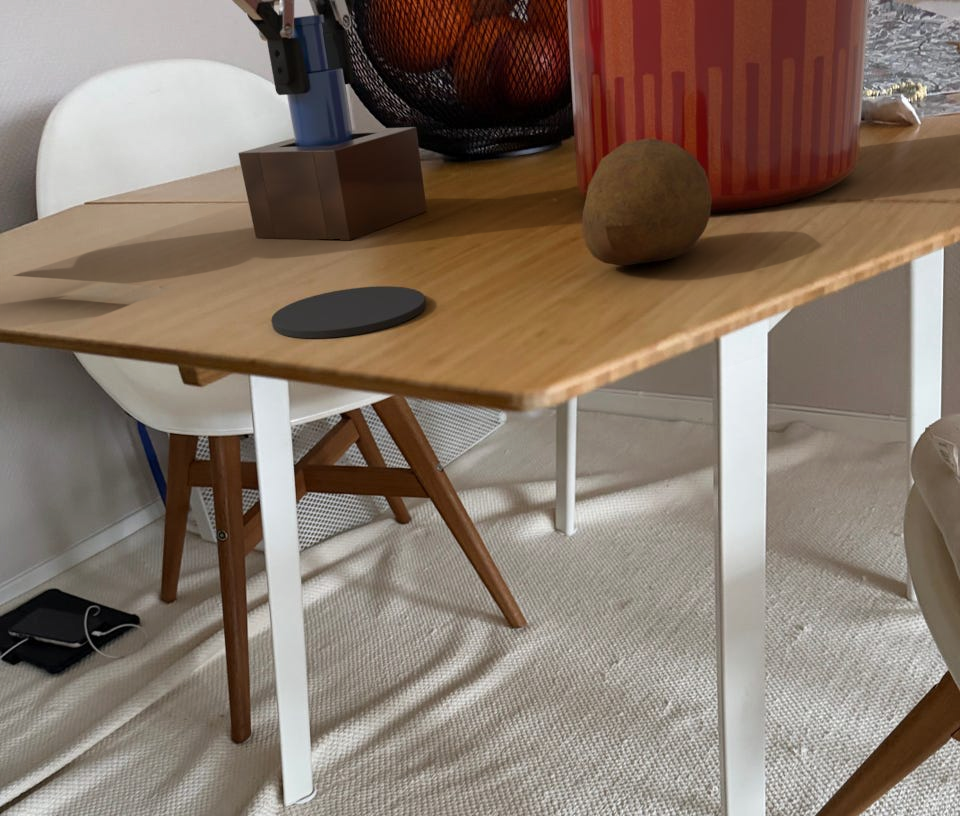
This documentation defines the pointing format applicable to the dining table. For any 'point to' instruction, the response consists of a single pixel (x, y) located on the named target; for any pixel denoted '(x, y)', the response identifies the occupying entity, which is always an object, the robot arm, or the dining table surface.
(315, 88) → the bottle
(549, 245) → the dining table surface
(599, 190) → the potato
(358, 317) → the coaster
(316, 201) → the holder
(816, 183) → the planter
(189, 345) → the dining table surface
